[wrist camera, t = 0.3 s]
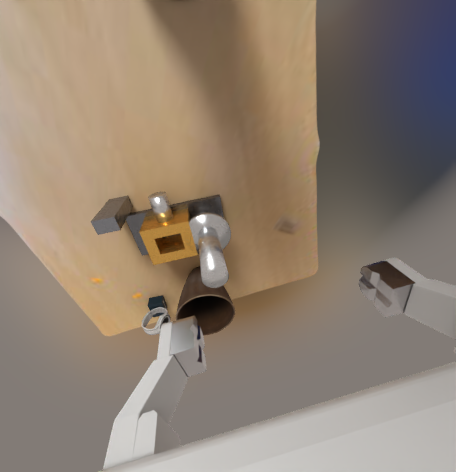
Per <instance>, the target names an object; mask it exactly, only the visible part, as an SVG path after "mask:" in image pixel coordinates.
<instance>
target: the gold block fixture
mask: <svg viewBox="0 0 456 472" xmlns="http://www.w3.org/2000/svg"><path fill="white" fill-rule="evenodd" d="M148 198H149V201H150V204H151V207H152V209H149V210H144V211H139V212H135V213H130V214H129V215H128V217H127V219H126V221H127V223H128V226H129V228H130V230H131V232H132V234H133V237H134V239H135V241H136V243H137V245H138V248H139V250H140V252H141V254H142V255H147V254H149V256H150V258H151V260H152V263H153V265H156V264H160V263H165V262H169V261H174V260H178V259H182V258H187V257H191V256H196V255H198V254H199V255H200V266H201V276H202V282H203V284H204V285H206V286H207V287H210V288H217V287H220V286H222V285H224V284H225V283H226V282H227V280H228V278H229V275H228V271H227V267H226V263H225V259H224V255H223V251H222V249H224V248H225V247H226V246H227V244H228V242H229V240H230V237H231V230H230V227H229V224H228V222H227V221H226V220H225V219H224V216H223V211H222V205H221V200H220V196H219V195H215V196H211V197H206V198H201V199H196V200H192V201H187V202H182V203H177V204H173V205H170V204H169V201H168V197H167V194H166V192H157V193H154V194H152V195H150V196H149V197H148Z"/></svg>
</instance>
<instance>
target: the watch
mask: <svg viewBox="0 0 456 472" xmlns="http://www.w3.org/2000/svg"><path fill="white" fill-rule="evenodd" d="M148 307H149V309H150V311H149V312H148V313H147V314H146V315H145V317H144V318H143V320H142V327H143V329H144V331H145V332H146V333H147V334H149V335H155V334H159V333H160V330H161V326H162V324H165V323H169V322H170V316H169V314H168V312H167V305H166V302H165V300H164V297H163V295H162V296H157V297H152V298H149V302H148ZM152 316H153V317H157V316H160V318H159V319H158V322H157V324H156V326H155V328H154V329H146V328H145V327H146V325H147V323H148V322H149V320H150V319H151V318H152Z"/></svg>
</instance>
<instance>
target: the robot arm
mask: <svg viewBox="0 0 456 472" xmlns="http://www.w3.org/2000/svg"><path fill="white" fill-rule="evenodd" d="M360 273H361V274H362V275H363V276H362V277H361V278H360V280H359V287H360V290H361V292H362V293H363V295H364V296H365V297H366V298H367V299H369V300H371V301H374V306H375V307H376V308H377V309H378V310H379V312H380V313H381V314H382V315H383V316H384V317H390V316H394V315H397V314H401V313H404V314H405V315H407V316H409V317H411V318H413V319H415V320H418V321H419V322H421V323H423V324H425V325H427V326H429V327H431V328H433V329H435V330H437V331H439V332H441V333H443V334H445V335H447V336H449V337H451V338H453V339H455V340H456V286H454V285H451V284H447V283H444V282H440V281H437V280H434V279H429V280H428V279H426V278H425V277H423V276H422V275H420V274H419V273H418V272H416V271H415V270H413V269H412V268H411V267H409V266H408V265H406V264H405V263H403V262H402V261H400V260H399V259H397V258H391V259H387V260H384V261H380V262H376V263H373V264H370V265H367V266H363V267H362V268H361V272H360ZM203 349H204V338H203V333H202V330H201V328H200V326H198V325H197V319H196V317H195V316H191V317H187V318H184V319H180V320H176V321H173V322H169V323H165V324H162V326H161V330H160V338H159V348H158V355H157V360H154V361H153V362H152V364H151V365H150V367H149V369H148V370H147V372H146V373H145V375H144V376H143V378H142V379H141V381H140V382H139V384H138V385H137V387H136V389H135V390H134V391H133V393H132V395H131V396H130V398H129V399H128V401H127V402H126V404H125V405H124V407H123V408H122V410H121V411H120V413H119V414H118V416H117V417H116V419H115V420H114V424H113V429H112V433H111V437H110V441H109V446H108V450H107V454H106V459H105V463H104V467H103V470H102V471H98V472H456V362H453V363H450V364H446V365H443V366H440V367H437V368H433V369H430V370H427V371H423V372H420V373H417V374H414V375H411V376H407V377H404V378H401V379H397V380H394V381H391V382H388V383H385V384H381V385H378V386H375V387H372V388H368V389H365V390H362V391H358V392H355V393H352V394H349V395H345V396H342V397H339V398H336V399H332V400H329V401H326V402H323V403H319V404H316V405H313V406H310V407H306V408H303V409H300V410H297V411H294V412H290V413H287V414H283V415H280V416H277V417H274V418H270V419H268V420H264V421H261V422H258V423H254V424H251V425H248V426H245V427H242V428H238V429H235V430H232V431H228V432H225V433H222V434H219V435H215V436H212V437H209V438H206V439H202V440H199V441H196V442H193V443H189V444H186V445H183V446H180V437H179V435H178V434H177V433H176V432H175V431H174V430H173V429H172V428H171V427H170V426H169V423H170V420H171V418H172V416H173V414H174V411H175V409H176V406H177V404H178V402H179V399H180V397H181V394H182V392H183V389H184V387H185V385H186V382H187V380H188V377H190V376H193V375H196V374H199V373H202V372H205V371H206V359H205V355H204V352H203V351H202V350H203ZM454 353H455V354H456V347H455V348H454Z"/></svg>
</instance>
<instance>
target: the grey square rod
mask: <svg viewBox="0 0 456 472" xmlns="http://www.w3.org/2000/svg"><path fill="white" fill-rule="evenodd" d="M131 209H132V204H131V202H130V199H129V197H128V196H124V197H119V198H114V199H109V200H108V202H107V203H106V204H105V205H104V206H103V208H102V209H101V210H100V211H99V212H98V214H97V215H96V216H95V217H94V218H93V220H92V221H91V223H92V225H93V227H94V229H95V230H96V232H97V234H98V235H99V234H104V233H108V232H113V231H118V230H121V228H122V226H123V224H124V222H125V220H126V219H127V217H128V215H129V213H130V211H131Z"/></svg>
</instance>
